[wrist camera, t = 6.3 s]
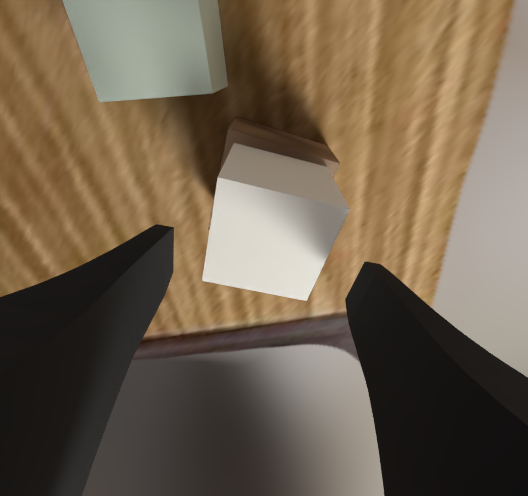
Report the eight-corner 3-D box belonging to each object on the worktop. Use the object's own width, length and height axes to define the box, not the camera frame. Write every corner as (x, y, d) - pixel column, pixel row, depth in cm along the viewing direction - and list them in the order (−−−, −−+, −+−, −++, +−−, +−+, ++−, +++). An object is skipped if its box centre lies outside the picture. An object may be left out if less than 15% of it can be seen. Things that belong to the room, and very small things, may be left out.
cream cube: (219, 225, 16) (202, 280, 12) (233, 142, 14) (217, 177, 9) (297, 243, 17) (306, 300, 13) (327, 166, 14) (349, 209, 10)
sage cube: (144, 92, 16) (99, 102, 12) (111, -26, 13) (37, -69, 9) (228, 86, 16) (212, 93, 11) (213, -37, 13) (185, -86, 9)
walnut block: (218, 201, 20) (208, 229, 17) (236, 115, 17) (228, 128, 13) (295, 222, 21) (300, 252, 17) (327, 144, 17) (340, 163, 14)
